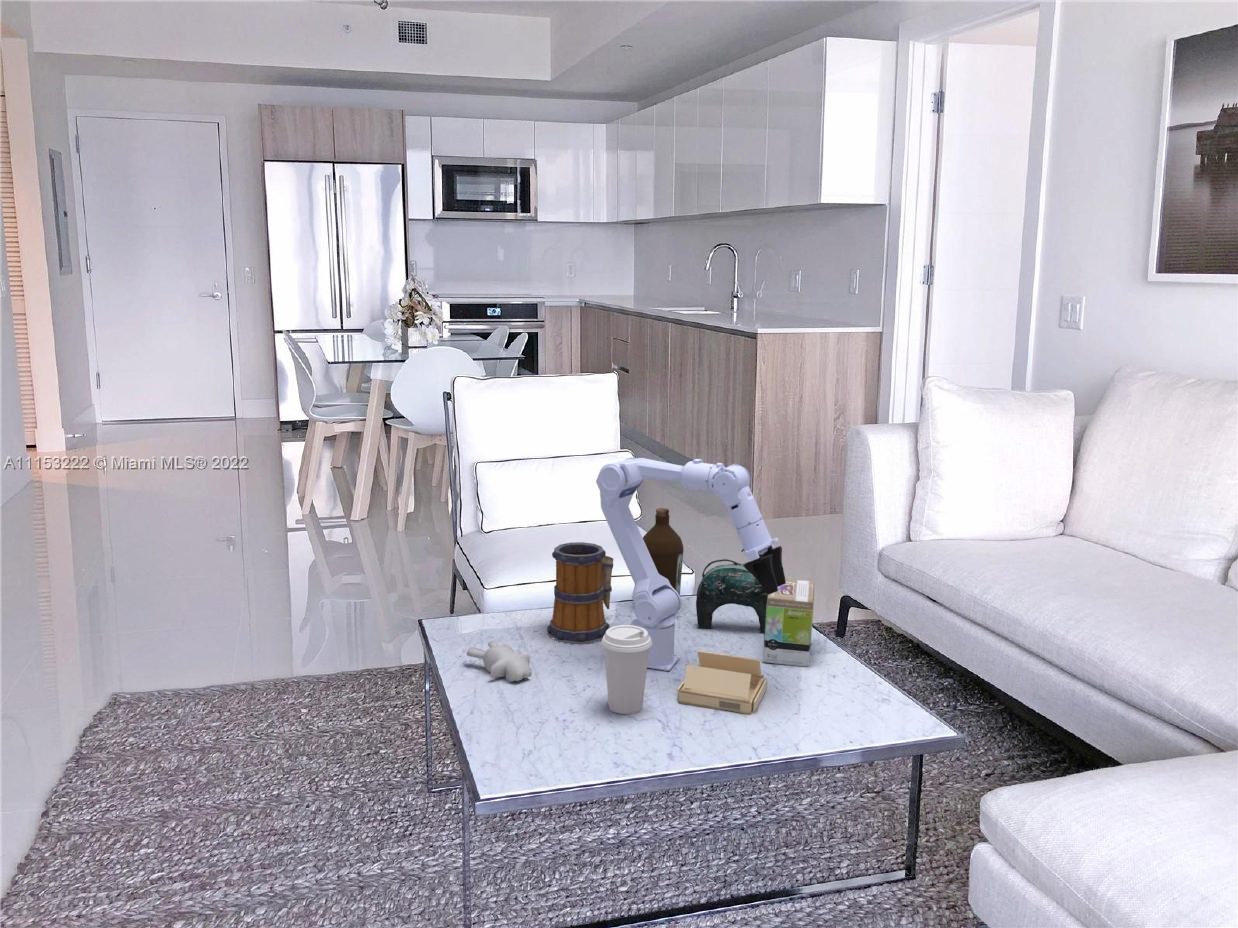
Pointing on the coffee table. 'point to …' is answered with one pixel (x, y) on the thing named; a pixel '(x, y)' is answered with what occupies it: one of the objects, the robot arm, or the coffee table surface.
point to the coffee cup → (626, 667)
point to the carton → (726, 696)
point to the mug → (580, 593)
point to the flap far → (729, 662)
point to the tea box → (789, 623)
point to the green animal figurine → (729, 592)
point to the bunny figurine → (503, 661)
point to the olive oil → (665, 549)
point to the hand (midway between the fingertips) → (777, 588)
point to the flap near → (717, 681)
